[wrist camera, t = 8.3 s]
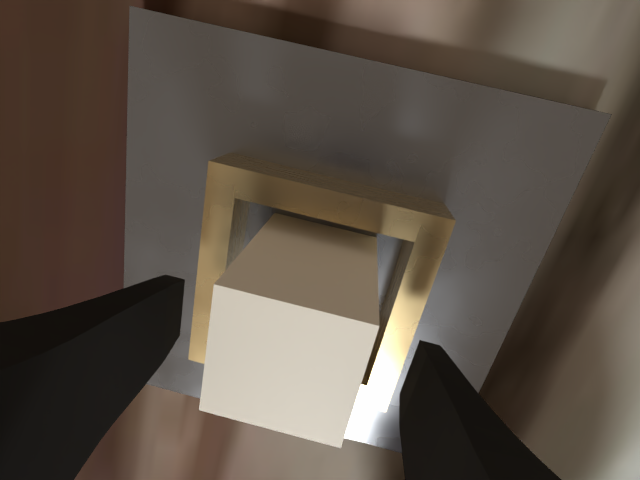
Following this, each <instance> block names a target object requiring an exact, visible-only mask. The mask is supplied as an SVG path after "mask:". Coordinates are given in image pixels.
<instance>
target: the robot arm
mask: <svg viewBox="0 0 640 480" xmlns="http://www.w3.org/2000/svg"><path fill="white" fill-rule="evenodd" d="M184 285H185V279H181V278H177V277H174V276H170V275H162V276H159V277H155V278H152V279H149V280H146V281H143V282H141V283H138V284H135V285H132V286H129V287H126V288H123V289H121V290H118V291H115V292H112V293H109V294H106V295H103V296H100V297H97V298H94V299H91V300H87V301H84V302H81V303H78V304H74V305H71V306H68V307H65V308H61V309H57V310H54V311H50V312H46V313H42V314H38V315H34V316H29V317H25V318H20V319H16V320H11V321H6V322H0V480H74V479H75V477H76V476H77V474H78V473H79V471H80V470H81V468H82V467H83V465H84V464H85V462H86V461H87V459H88V458H89V456H90V455H91V453H92V452H93V450H94V449H95V447H96V446H97V445H98V443H99V442H100V440H101V439H102V437H103V436H104V435H105V434H106V432H107V431H108V430H109V428H110V427H111V426H112V424H113V423H114V422H115V421H116V420H117V418H118V417H119V416H120V415H121V413H122V412H123V411H124V410H125V409H126V407H127V406H128V405H129V404H130V403H131V401H132V400H133V399H134V398H135V397H136V395H137V394H138V393H139V392H140V390H141V389H142V388H143V387H144V386H145V384H146V383H147V382H148V381H149V380H150V378H151V377H152V376H153V375H154V373H155V372H156V371H157V370H158V368H159V367H160V366H161V365H162V363H163V362H164V360H165V359H166V357H167V356H168V354H169V353H170V351H171V349H172V348H173V346H174V344H175V343H176V341H177V339H178V338H179V336H180V329H181V318H182V307H183V296H184ZM399 429H400V439H401V448H402V456H403V465H404V473H405V480H561V479H560V478H559V477H558V476H557V475H555V474H554V473H553V472H552V471H551V470H550V469H549V468H548V467H547V466H546V465H545V464H543V463H542V462H541V461H540V460H539V459H538V458H537V457H536V456H535V455H534V454H533V453H532V452H531V451H530V450H529V449H528V448H527V447H526V446H525V445H524V444H523V443H522V442H521V441H520V440H519V439H518V438H517V437H516V436H515V435H514V434H513V433H512V431H511V430H510V429H509V428H508V427H507V426H506V425H505V424H504V423H503V421H502V420H501V419H500V418H499V417H498V416H497V415H496V414H495V413H494V411H493V410H492V409H491V408H490V407H489V406H488V404H487V403H486V402H485V401H484V400H483V398H482V397H481V396H480V395H479V394H478V392H477V391H476V390H475V389H474V387H473V386H472V385H471V384H470V382H469V381H468V380H467V378H466V377H465V376H464V375H463V373H462V372H461V371H460V369H459V368H458V367H457V366H456V364H455V363H454V362H453V360H452V359H451V358H450V356H449V355H448V354H447V353H446V351H445V350H444V349H443V348H442V347H441V346H440V345H437V344H433V343H429V342H425V341H422V340H419V343H418V346H417V348H416V351H415V354H414V356H413V359H412V362H411V364H410V367H409V370H408V372H407V375H406V378H405V380H404V383H403V386H402V388H401V391H400V399H399Z"/></svg>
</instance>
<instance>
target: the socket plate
mask: <svg viewBox="0 0 640 480" xmlns="http://www.w3.org/2000/svg"><path fill="white" fill-rule="evenodd" d="M611 115H612V114H608V113H603V112H599V111H594V110H590V109H586V108H581V107H577V106H572V105H568V104H563V103H559V102H555V101H550V100H546V99H541V98H537V97H532V96H528V95H523V94H519V93H515V92H510V91H506V90H501V89H497V88H492V87H488V86H483V85H479V84H475V83H470V82H466V81H461V80H457V79H452V78H448V77H444V76H439V75H435V74H430V73H426V72H421V71H417V70H412V69H408V68H404V67H399V66H395V65H390V64H386V63H381V62H377V61H372V60H368V59H364V58H359V57H355V56H350V55H346V54H341V53H337V52H333V51H328V50H324V49H319V48H315V47H310V46H306V45H301V44H297V43H293V42H288V41H284V40H279V39H275V38H270V37H266V36H262V35H257V34H253V33H248V32H244V31H239V30H235V29H230V28H226V27H222V26H217V25H213V24H208V23H204V22H199V21H195V20H190V19H186V18H182V17H177V16H173V15H168V14H164V13H159V12H155V11H151V10H146V9H142V8H137V7H133V6H130V14H129V62H128V110H127V157H126V205H125V253H124V288H126V287H129V286H132V285H135V284H138V283H141V282H143V281H146V280H149V279H152V278H155V277H159V276H162V275H170V276H174V277H177V278H181V279H185V285H184V296H183V307H182V318H181V329H180V336H179V338H178V339H177V341H176V343H175V344H174V346H173V348H172V349H171V351H170V353H169V354H168V356H167V357H166V359H165V360H164V362H163V363H162V365H161V366H160V367H159V368H158V370H157V371H156V372H155V373H154V375H153V376H152V377H151V378H150V380H149V381H148V382H147V383H146V384H148V385H152V386H156V387H160V388H163V389H167V390H171V391H174V392H178V393H182V394H185V395H189V396H193V397H197V398H201V389H202V381H203V372H204V364H205V355H206V347H207V338H208V330H209V321H210V313H211V304H212V296H213V287H214V283H215V282H216V281H217V280H218V279H219V278H220V276H221V275H222V274H223V273H224V272H225V271H226V269H227V268H228V267H229V266H230V265H231V263H232V262H233V261H234V260H235V259H236V258H237V256H238V255H239V254H240V253H241V252H242V251H243V249H244V248H245V247H246V246H247V245H248V244H249V242H250V241H251V240H252V239H253V238H254V236H255V235H256V234H257V233H258V232H259V231H260V229H261V228H262V227H263V226H264V225H265V224H266V222H267V221H268V220H269V219H270V218H271V217H272V215H273V214H274V213H277V214H281V215H286V216H290V217H294V218H298V219H302V220H306V221H310V222H314V223H319V224H323V225H327V226H331V227H335V228H339V229H343V230H348V231H352V232H356V233H360V234H364V235H368V236H372V237H376V238H377V263H378V294H379V325H380V326H379V329H378V333H377V336H376V339H375V342H374V345H373V348H372V351H371V355H370V358H369V361H368V364H367V367H366V370H365V373H364V377H363V380H362V383H361V386H360V389H359V392H358V395H357V399H356V402H355V405H354V408H353V411H352V414H351V417H350V421H349V424H348V427H347V430H346V433H345V436H344V438H348V439H352V440H355V441H359V442H363V443H367V444H370V445H374V446H378V447H381V448H385V449H389V450H392V451H396V452H400V453H402V448H401V439H400V429H399V399H400V391H401V388H402V386H403V383H404V380H405V378H406V375H407V372H408V370H409V367H410V364H411V362H412V359H413V356H414V354H415V351H416V348H417V346H418V343H419V340H422V341H425V342H429V343H433V344H437V345H440V346H441V347H442V348H443V349H444V350H445V351H446V353H447V354H448V355H449V356H450V358H451V359H452V360H453V362H454V363H455V364H456V366H457V367H458V368H459V369H460V371H461V372H462V373H463V375H464V376H465V377H466V378H467V380H468V381H469V382H470V384H471V385H472V386H473V387H474V389H475V390H476V391H477V392H478V393H479V391H480V389H481V387H482V385H483V383H484V381H485V379H486V376H487V374H488V372H489V370H490V368H491V366H492V364H493V362H494V360H495V358H496V355H497V353H498V351H499V349H500V347H501V345H502V343H503V341H504V339H505V337H506V335H507V332H508V330H509V328H510V326H511V324H512V322H513V320H514V318H515V316H516V314H517V311H518V309H519V307H520V305H521V303H522V301H523V299H524V297H525V295H526V293H527V291H528V288H529V286H530V284H531V282H532V280H533V278H534V276H535V274H536V272H537V270H538V268H539V265H540V263H541V261H542V259H543V257H544V255H545V253H546V251H547V249H548V247H549V244H550V242H551V240H552V238H553V236H554V234H555V232H556V230H557V228H558V226H559V224H560V221H561V219H562V217H563V215H564V213H565V211H566V209H567V207H568V205H569V203H570V200H571V198H572V196H573V194H574V192H575V190H576V188H577V186H578V184H579V182H580V180H581V177H582V175H583V173H584V171H585V169H586V167H587V165H588V163H589V161H590V159H591V156H592V154H593V152H594V150H595V148H596V146H597V144H598V142H599V140H600V138H601V136H602V133H603V131H604V129H605V127H606V125H607V123H608V121H609V119H610V117H611Z"/></svg>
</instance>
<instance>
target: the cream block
mask: <svg viewBox="0 0 640 480" xmlns="http://www.w3.org/2000/svg"><path fill="white" fill-rule="evenodd" d="M379 326H380V325H379V294H378V263H377V238H376V237H372V236H368V235H364V234H360V233H356V232H352V231H348V230H343V229H339V228H335V227H331V226H327V225H323V224H319V223H314V222H310V221H306V220H302V219H298V218H294V217H290V216H286V215H281V214H277V213H274V214H273V215H272V217H271V218H270V219H269V220H268V221H267V222H266V224H265V225H264V226H263V227H262V228H261V229H260V231H259V232H258V233H257V234H256V235H255V236H254V238H253V239H252V240H251V241H250V242H249V244H248V245H247V246H246V247H245V248H244V249H243V251H242V252H241V253H240V254H239V255H238V256H237V258H236V259H235V260H234V261H233V262H232V263H231V265H230V266H229V267H228V268H227V269H226V271H225V272H224V273H223V274H222V275H221V276H220V278H219V279H218V280H217V281H216V282H215V283H214V287H213V296H212V304H211V313H210V321H209V330H208V338H207V347H206V355H205V364H204V372H203V381H202V389H201V398H200V406H199V410H201V411H204V412H208V413H212V414H215V415H219V416H223V417H227V418H230V419H234V420H238V421H241V422H245V423H249V424H253V425H256V426H260V427H264V428H267V429H271V430H275V431H279V432H282V433H286V434H290V435H294V436H297V437H301V438H305V439H308V440H312V441H316V442H320V443H323V444H327V445H331V446H334V447H338V448H341V446H342V443H343V439H344V436H345V433H346V430H347V427H348V424H349V421H350V417H351V414H352V411H353V408H354V405H355V402H356V399H357V395H358V392H359V389H360V386H361V383H362V380H363V377H364V373H365V370H366V367H367V364H368V361H369V358H370V355H371V351H372V348H373V345H374V342H375V339H376V336H377V333H378V329H379Z"/></svg>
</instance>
